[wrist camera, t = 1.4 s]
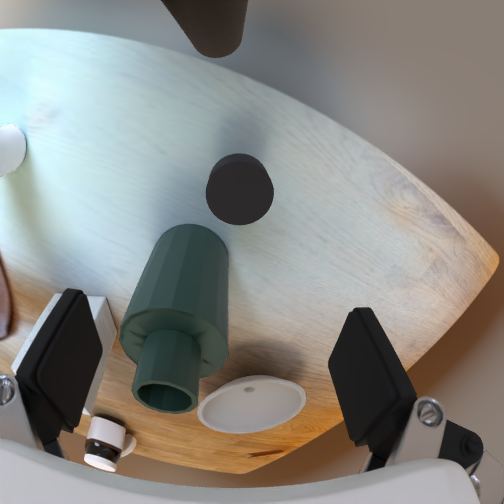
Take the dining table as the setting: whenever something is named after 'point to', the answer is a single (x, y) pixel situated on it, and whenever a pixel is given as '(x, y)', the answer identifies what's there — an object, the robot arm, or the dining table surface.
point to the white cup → (11, 148)
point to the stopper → (239, 190)
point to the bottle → (178, 319)
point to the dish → (251, 404)
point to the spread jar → (107, 442)
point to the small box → (105, 333)
